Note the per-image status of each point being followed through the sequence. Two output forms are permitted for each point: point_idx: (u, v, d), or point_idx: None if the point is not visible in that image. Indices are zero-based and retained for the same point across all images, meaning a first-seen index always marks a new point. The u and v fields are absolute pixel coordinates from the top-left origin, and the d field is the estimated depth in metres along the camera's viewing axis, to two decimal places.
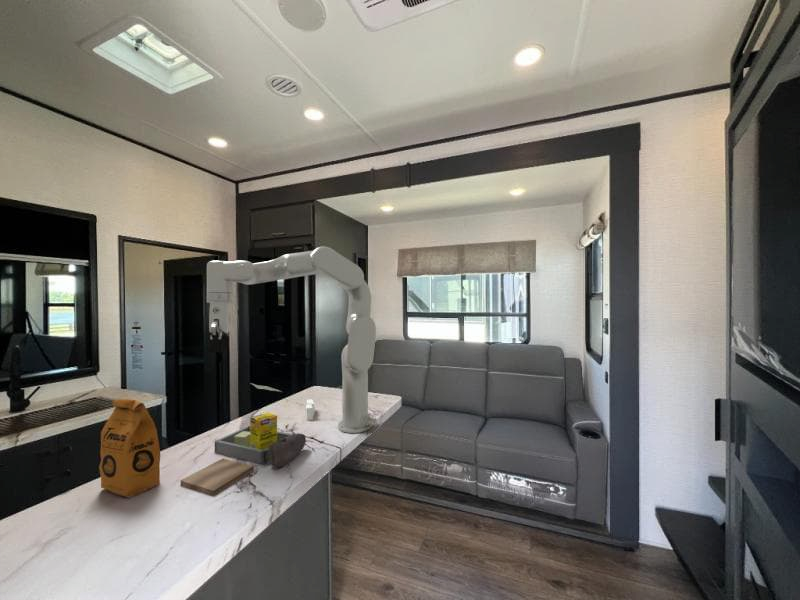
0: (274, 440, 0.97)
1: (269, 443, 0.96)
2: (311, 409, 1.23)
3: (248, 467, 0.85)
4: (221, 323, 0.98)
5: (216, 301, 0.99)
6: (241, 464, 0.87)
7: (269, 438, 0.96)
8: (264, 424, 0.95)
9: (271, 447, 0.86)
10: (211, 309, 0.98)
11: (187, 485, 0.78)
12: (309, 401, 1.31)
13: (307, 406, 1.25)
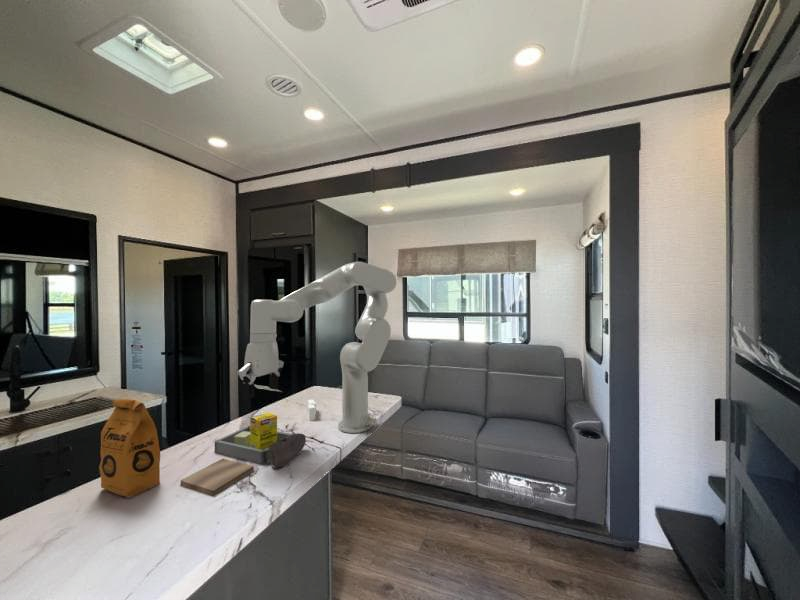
0: (274, 440, 0.97)
1: (269, 443, 0.96)
2: (314, 409, 1.23)
3: (248, 467, 0.85)
4: None
5: None
6: (241, 464, 0.87)
7: (269, 438, 0.96)
8: (264, 424, 0.95)
9: (271, 447, 0.86)
10: None
11: (187, 485, 0.78)
12: (310, 401, 1.31)
13: (309, 406, 1.25)
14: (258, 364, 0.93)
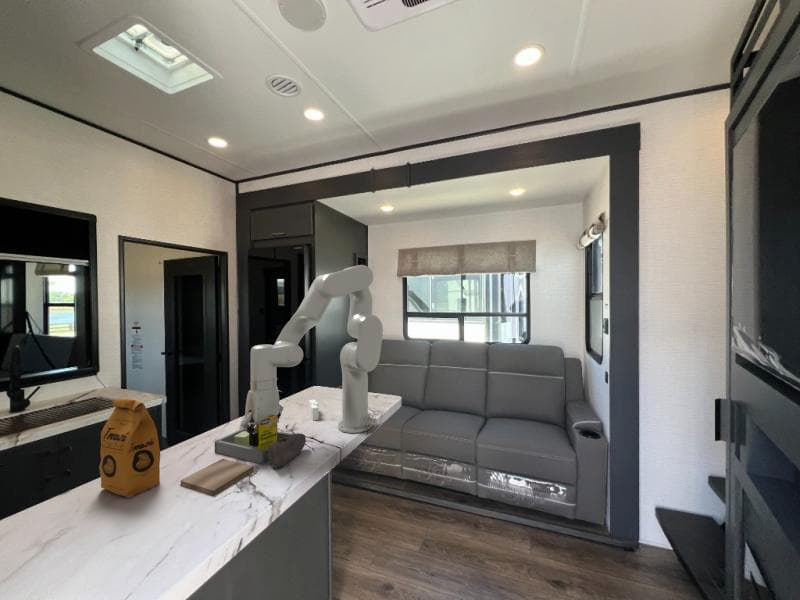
0: (274, 440, 0.97)
1: (269, 443, 0.96)
2: (317, 409, 1.23)
3: (248, 467, 0.85)
4: None
5: None
6: (241, 464, 0.87)
7: (269, 438, 0.96)
8: (264, 424, 0.95)
9: (271, 447, 0.86)
10: None
11: (187, 485, 0.78)
12: (312, 401, 1.31)
13: (312, 406, 1.25)
14: (259, 412, 0.93)
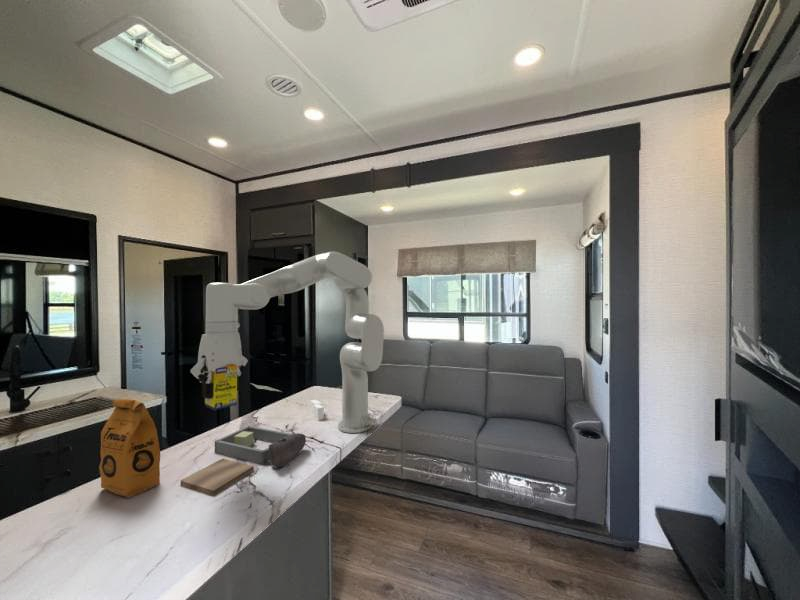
0: (233, 393, 0.83)
1: (227, 396, 0.82)
2: (322, 409, 1.24)
3: (248, 467, 0.85)
4: None
5: None
6: (241, 464, 0.87)
7: (226, 390, 0.82)
8: (221, 373, 0.81)
9: (271, 447, 0.86)
10: None
11: (187, 485, 0.78)
12: (315, 401, 1.31)
13: (317, 406, 1.25)
14: (214, 358, 0.79)
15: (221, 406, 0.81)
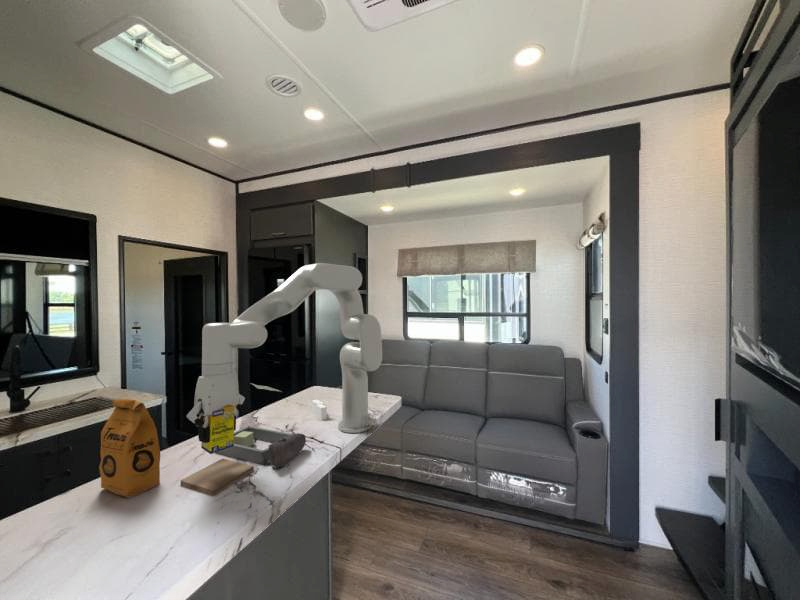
0: (230, 435, 0.82)
1: (223, 438, 0.81)
2: (325, 408, 1.24)
3: (248, 467, 0.85)
4: None
5: None
6: (241, 464, 0.87)
7: (223, 432, 0.81)
8: (217, 415, 0.80)
9: (271, 447, 0.86)
10: None
11: (187, 485, 0.78)
12: (316, 401, 1.31)
13: (319, 406, 1.25)
14: (210, 401, 0.78)
15: (218, 449, 0.80)
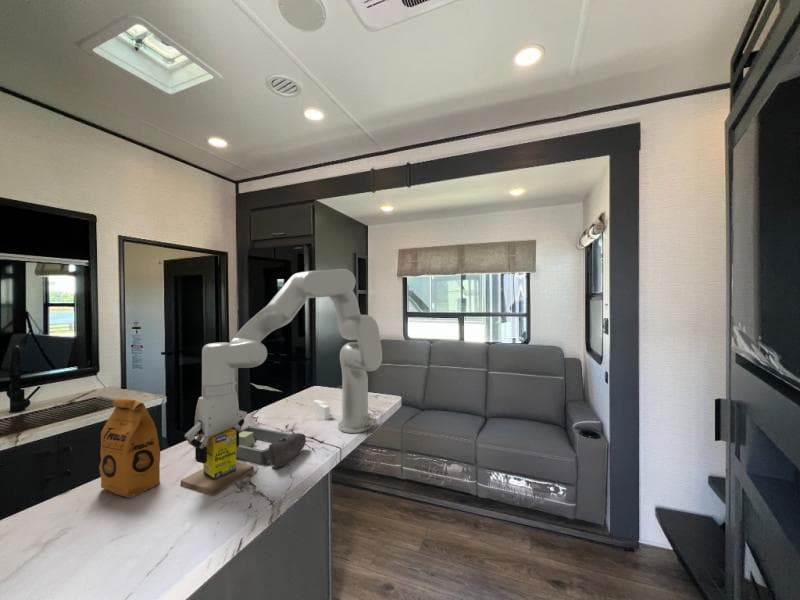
0: (233, 459, 0.83)
1: (226, 463, 0.81)
2: (328, 408, 1.24)
3: (248, 467, 0.85)
4: None
5: None
6: (241, 464, 0.87)
7: (226, 457, 0.81)
8: (220, 441, 0.80)
9: (271, 447, 0.86)
10: None
11: (187, 485, 0.78)
12: (318, 401, 1.31)
13: (322, 406, 1.25)
14: (211, 423, 0.78)
15: (221, 475, 0.80)
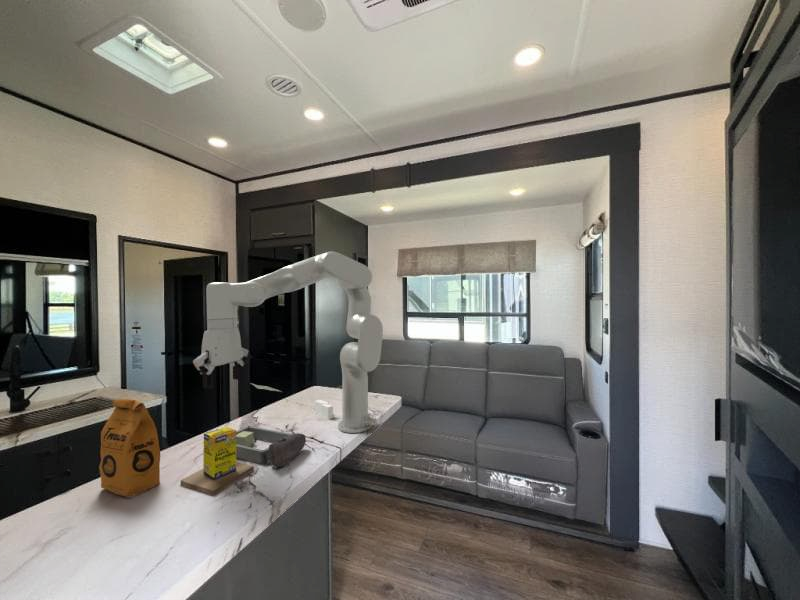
0: (233, 459, 0.83)
1: (226, 463, 0.81)
2: (331, 408, 1.25)
3: (248, 467, 0.85)
4: None
5: None
6: (241, 464, 0.87)
7: (226, 457, 0.81)
8: (220, 441, 0.80)
9: (271, 447, 0.86)
10: None
11: (187, 485, 0.78)
12: (320, 401, 1.31)
13: (325, 405, 1.25)
14: (216, 352, 0.86)
15: (221, 475, 0.80)
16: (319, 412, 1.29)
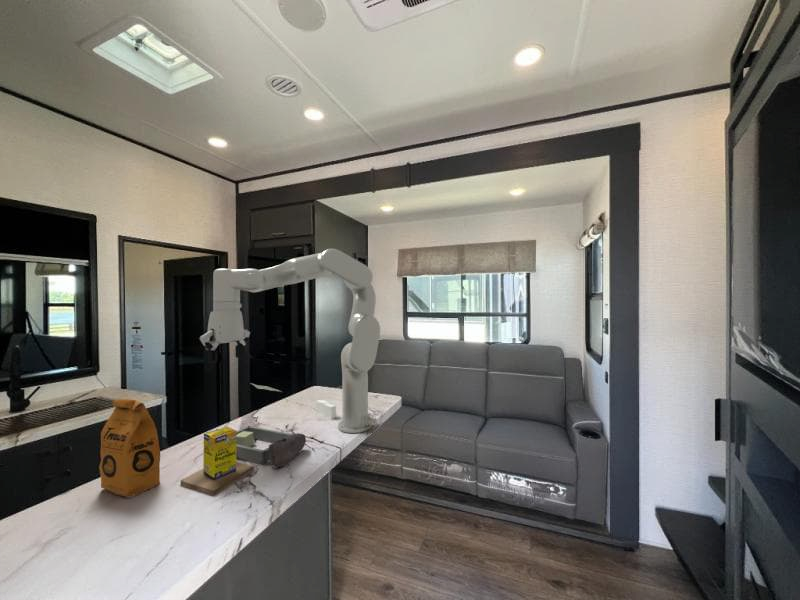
0: (233, 459, 0.83)
1: (226, 463, 0.81)
2: (334, 407, 1.25)
3: (248, 467, 0.85)
4: None
5: None
6: (241, 464, 0.87)
7: (226, 457, 0.81)
8: (220, 441, 0.80)
9: (271, 447, 0.86)
10: None
11: (187, 485, 0.78)
12: (322, 401, 1.31)
13: (328, 405, 1.26)
14: (221, 331, 0.95)
15: (221, 475, 0.80)
16: (321, 412, 1.29)
